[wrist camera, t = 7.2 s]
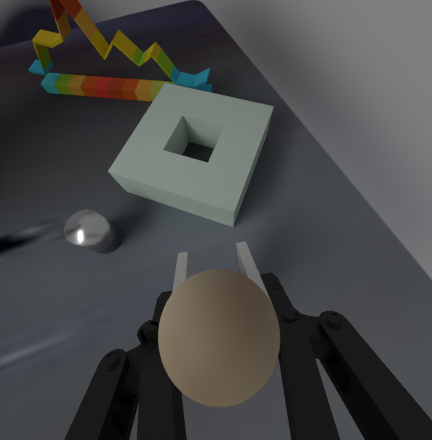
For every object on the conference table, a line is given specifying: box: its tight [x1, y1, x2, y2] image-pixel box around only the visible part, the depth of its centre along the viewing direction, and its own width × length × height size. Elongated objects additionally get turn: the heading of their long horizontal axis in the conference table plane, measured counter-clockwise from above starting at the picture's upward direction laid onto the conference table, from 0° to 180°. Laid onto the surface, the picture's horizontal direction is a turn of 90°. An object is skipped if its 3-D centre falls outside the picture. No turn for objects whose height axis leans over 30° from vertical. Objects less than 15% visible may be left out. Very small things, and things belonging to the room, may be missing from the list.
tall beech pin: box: [158, 269, 280, 407], centre depth 13 cm, size 4×4×14 cm
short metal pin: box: [64, 209, 123, 254], centre depth 25 cm, size 4×4×5 cm
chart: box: [29, 0, 213, 101], centre depth 30 cm, size 30×3×15 cm, turn 80°
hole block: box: [108, 83, 274, 227], centre depth 28 cm, size 16×16×5 cm
